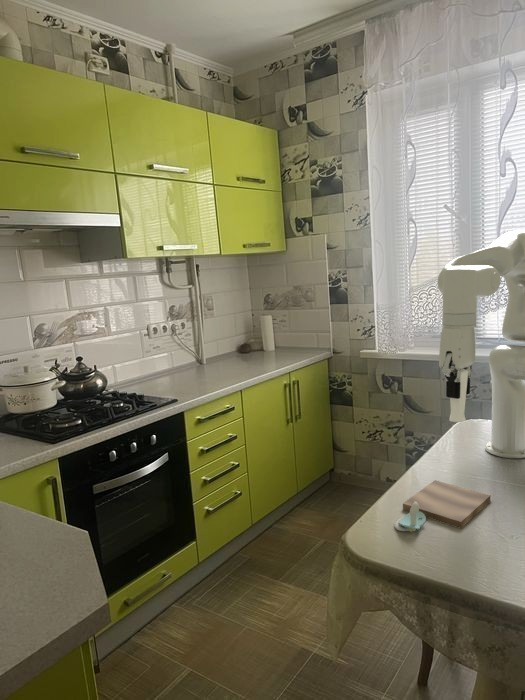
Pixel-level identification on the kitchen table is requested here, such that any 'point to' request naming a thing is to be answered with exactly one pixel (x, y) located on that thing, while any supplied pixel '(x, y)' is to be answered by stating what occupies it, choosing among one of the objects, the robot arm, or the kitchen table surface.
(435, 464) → the kitchen table surface
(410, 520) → the pacifier
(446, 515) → the walnut board
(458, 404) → the white tall faceted piece
